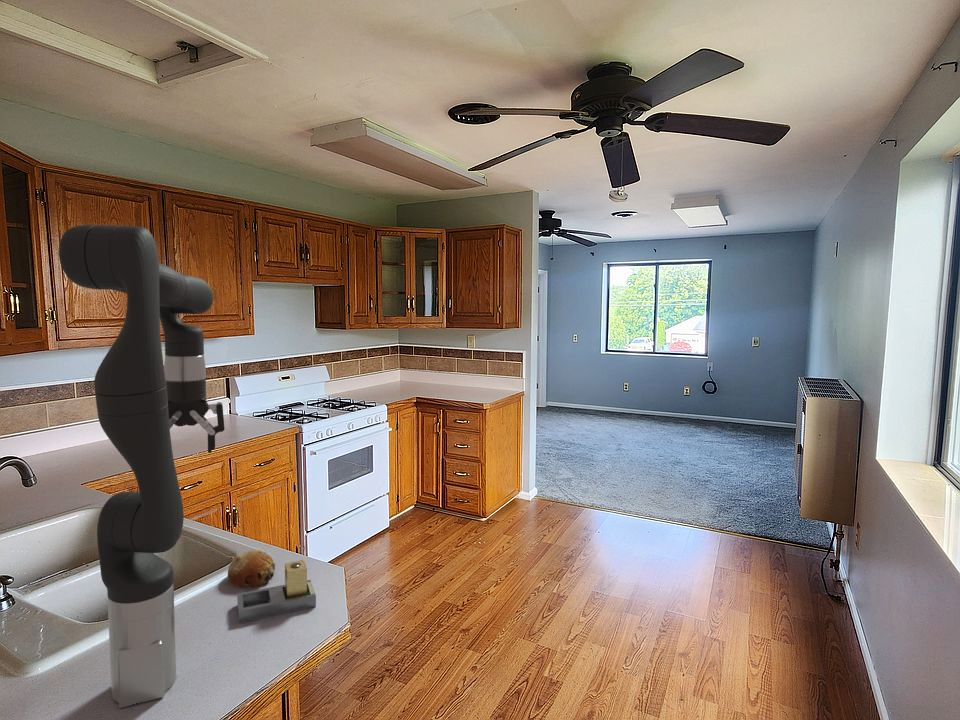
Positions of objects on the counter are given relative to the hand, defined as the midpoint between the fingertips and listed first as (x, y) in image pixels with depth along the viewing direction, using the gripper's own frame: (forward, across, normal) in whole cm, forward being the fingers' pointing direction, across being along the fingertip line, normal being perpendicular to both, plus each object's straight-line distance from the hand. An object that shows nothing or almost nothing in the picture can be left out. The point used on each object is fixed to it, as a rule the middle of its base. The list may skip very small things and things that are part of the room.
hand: (187, 453), depth 113 cm
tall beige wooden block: (+32, +20, -10) cm, 39 cm away
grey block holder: (+32, +16, -10) cm, 37 cm away
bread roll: (+32, +13, +4) cm, 35 cm away
